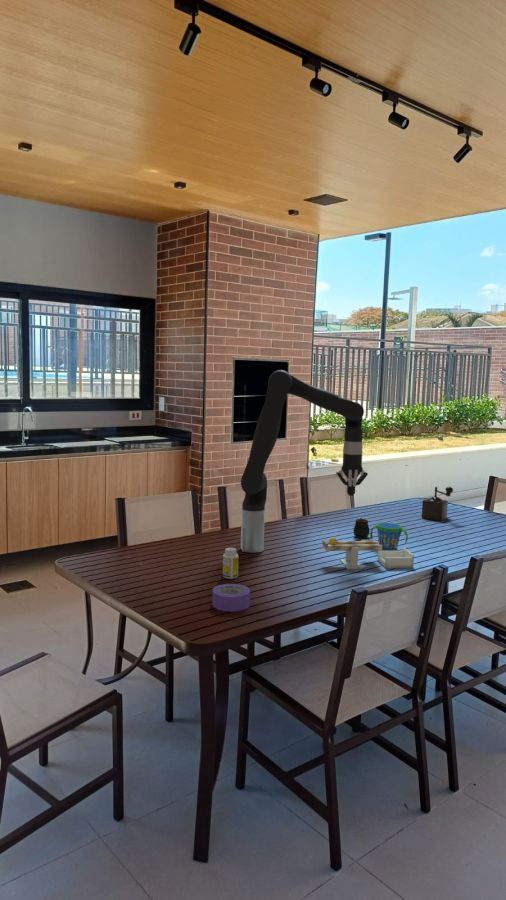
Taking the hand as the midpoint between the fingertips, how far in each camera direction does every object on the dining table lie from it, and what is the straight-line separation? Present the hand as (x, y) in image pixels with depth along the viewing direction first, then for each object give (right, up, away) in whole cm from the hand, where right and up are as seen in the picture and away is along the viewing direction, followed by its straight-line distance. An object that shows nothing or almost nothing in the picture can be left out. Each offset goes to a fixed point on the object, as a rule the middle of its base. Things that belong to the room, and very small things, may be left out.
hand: (350, 495), depth 259 cm
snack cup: (+18, -24, +15) cm, 34 cm away
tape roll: (-46, -31, -55) cm, 79 cm away
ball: (-9, -19, -11) cm, 23 cm away
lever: (-1, -19, -7) cm, 21 cm away
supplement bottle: (-47, -28, -28) cm, 61 cm away
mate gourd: (+10, -22, +34) cm, 42 cm away
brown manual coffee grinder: (+57, -18, +77) cm, 97 cm away
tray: (+16, -26, -7) cm, 32 cm away
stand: (-1, -26, -9) cm, 28 cm away
